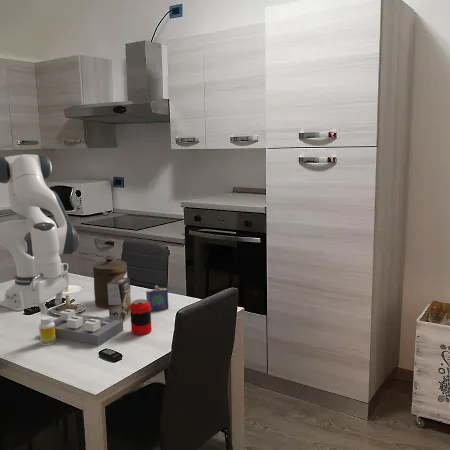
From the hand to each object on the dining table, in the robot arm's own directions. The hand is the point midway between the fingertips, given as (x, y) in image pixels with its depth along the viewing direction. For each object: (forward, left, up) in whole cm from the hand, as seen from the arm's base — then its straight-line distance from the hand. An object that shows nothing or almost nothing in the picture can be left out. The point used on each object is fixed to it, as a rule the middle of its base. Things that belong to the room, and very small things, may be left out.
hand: (51, 308), depth 170 cm
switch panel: (-3, +15, -15) cm, 22 cm away
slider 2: (0, +11, -11) cm, 16 cm away
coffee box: (+4, +34, -15) cm, 37 cm away
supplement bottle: (-7, +4, -15) cm, 17 cm away
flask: (+13, +48, -15) cm, 52 cm away
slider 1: (-8, +16, -11) cm, 21 cm away
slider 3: (+8, +11, -11) cm, 18 cm away
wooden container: (-11, +48, -16) cm, 51 cm away
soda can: (+20, +25, -15) cm, 35 cm away
